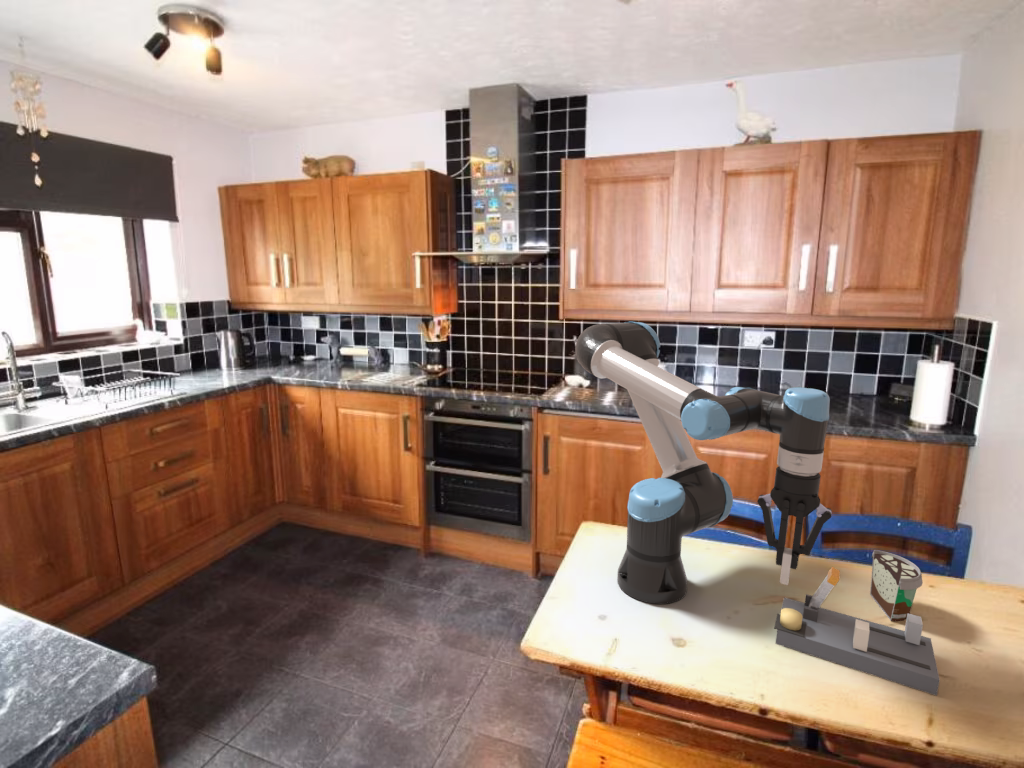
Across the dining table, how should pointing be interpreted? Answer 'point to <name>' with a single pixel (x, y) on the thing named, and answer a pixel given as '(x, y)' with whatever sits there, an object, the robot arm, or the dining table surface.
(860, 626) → the cream slider
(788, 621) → the button
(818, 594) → the lever
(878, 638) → the panel
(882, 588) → the food container
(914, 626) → the grey slider
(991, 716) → the dining table surface
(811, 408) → the robot arm
